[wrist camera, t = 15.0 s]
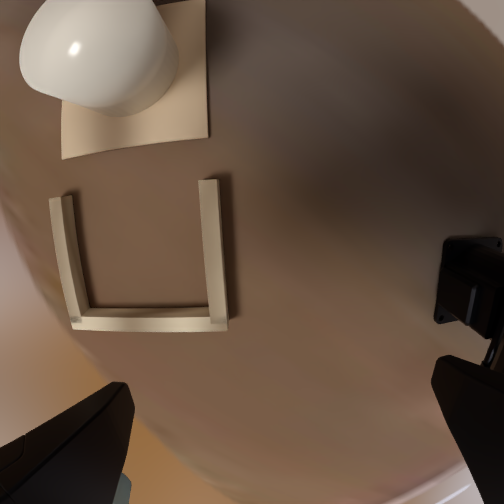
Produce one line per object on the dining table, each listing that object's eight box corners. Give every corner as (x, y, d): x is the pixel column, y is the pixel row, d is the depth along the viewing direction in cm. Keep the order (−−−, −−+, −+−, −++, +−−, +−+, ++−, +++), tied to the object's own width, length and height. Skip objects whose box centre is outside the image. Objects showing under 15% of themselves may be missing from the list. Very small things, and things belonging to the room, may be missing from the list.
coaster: (205, 0, 15) (204, -2, 15) (208, 138, 17) (207, 137, 17) (71, 31, 15) (69, 30, 15) (64, 159, 17) (61, 159, 17)
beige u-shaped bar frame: (219, 179, 18) (216, 179, 16) (228, 320, 20) (227, 330, 19) (60, 196, 18) (48, 199, 16) (81, 320, 20) (72, 329, 19)
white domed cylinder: (179, 108, 17) (142, 72, 10) (80, 126, 17) (12, 110, 10) (182, -29, 14) (161, -90, 7) (92, -7, 14) (49, -52, 7)
